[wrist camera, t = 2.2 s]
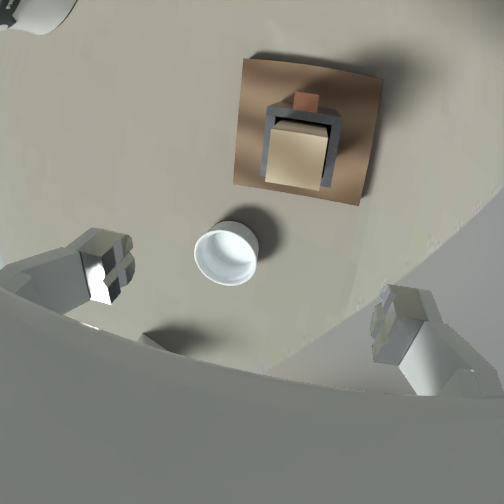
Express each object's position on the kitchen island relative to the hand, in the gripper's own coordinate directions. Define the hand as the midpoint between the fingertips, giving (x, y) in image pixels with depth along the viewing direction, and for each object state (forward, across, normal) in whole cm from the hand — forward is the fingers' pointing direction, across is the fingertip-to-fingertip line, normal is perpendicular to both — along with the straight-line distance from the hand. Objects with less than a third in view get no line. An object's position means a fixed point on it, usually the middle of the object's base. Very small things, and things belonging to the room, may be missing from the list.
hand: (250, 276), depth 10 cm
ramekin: (+32, +8, +18) cm, 37 cm away
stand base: (+31, 0, 0) cm, 31 cm away
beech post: (+29, 0, 0) cm, 29 cm away
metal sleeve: (+29, 0, -1) cm, 29 cm away
